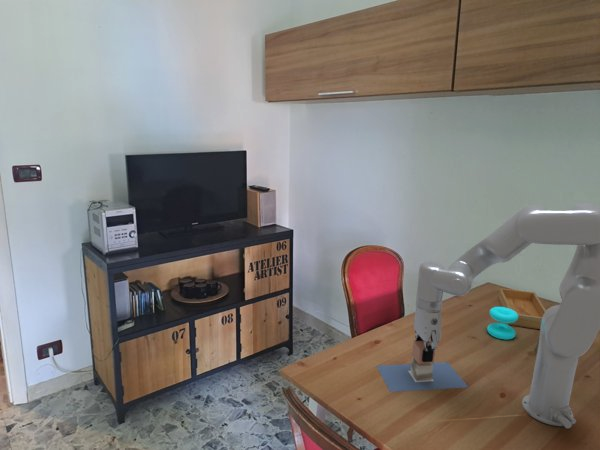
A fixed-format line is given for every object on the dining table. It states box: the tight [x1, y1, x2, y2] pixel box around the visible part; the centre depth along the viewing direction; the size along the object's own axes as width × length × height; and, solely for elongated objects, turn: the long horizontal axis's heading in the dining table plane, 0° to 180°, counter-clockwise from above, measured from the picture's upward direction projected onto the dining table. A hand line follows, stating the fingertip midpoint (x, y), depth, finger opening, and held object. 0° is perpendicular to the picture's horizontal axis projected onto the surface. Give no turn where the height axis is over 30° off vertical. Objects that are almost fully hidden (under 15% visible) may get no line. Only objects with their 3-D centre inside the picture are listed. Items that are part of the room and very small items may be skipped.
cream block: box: [410, 357, 433, 381], centre depth 133 cm, size 5×5×5 cm
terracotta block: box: [411, 340, 436, 364], centre depth 132 cm, size 5×5×5 cm
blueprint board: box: [376, 361, 469, 393], centre depth 134 cm, size 14×25×1 cm, turn 97°
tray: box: [497, 288, 547, 330], centre depth 183 cm, size 31×15×6 cm, turn 162°
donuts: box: [486, 306, 518, 341], centre depth 162 cm, size 10×10×10 cm
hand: (423, 355), depth 132 cm, fingers open, 5 cm apart
